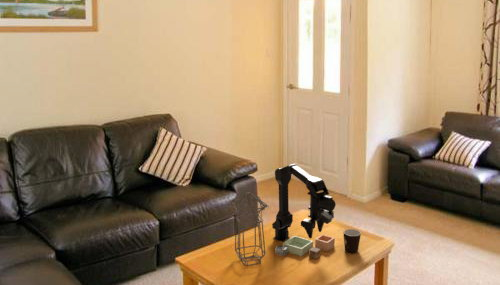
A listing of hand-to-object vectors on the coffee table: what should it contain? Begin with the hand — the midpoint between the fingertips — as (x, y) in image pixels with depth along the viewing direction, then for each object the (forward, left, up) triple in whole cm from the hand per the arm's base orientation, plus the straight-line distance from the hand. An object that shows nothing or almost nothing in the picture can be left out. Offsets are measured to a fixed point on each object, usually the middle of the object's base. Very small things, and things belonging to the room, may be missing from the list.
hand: (315, 235), depth 247 cm
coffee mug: (+11, +18, -12) cm, 24 cm away
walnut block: (0, 0, -12) cm, 12 cm away
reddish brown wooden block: (-15, -7, -12) cm, 20 cm away
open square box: (-1, +12, -12) cm, 17 cm away
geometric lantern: (-24, -22, -12) cm, 34 cm away
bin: (-11, +2, -12) cm, 16 cm away
